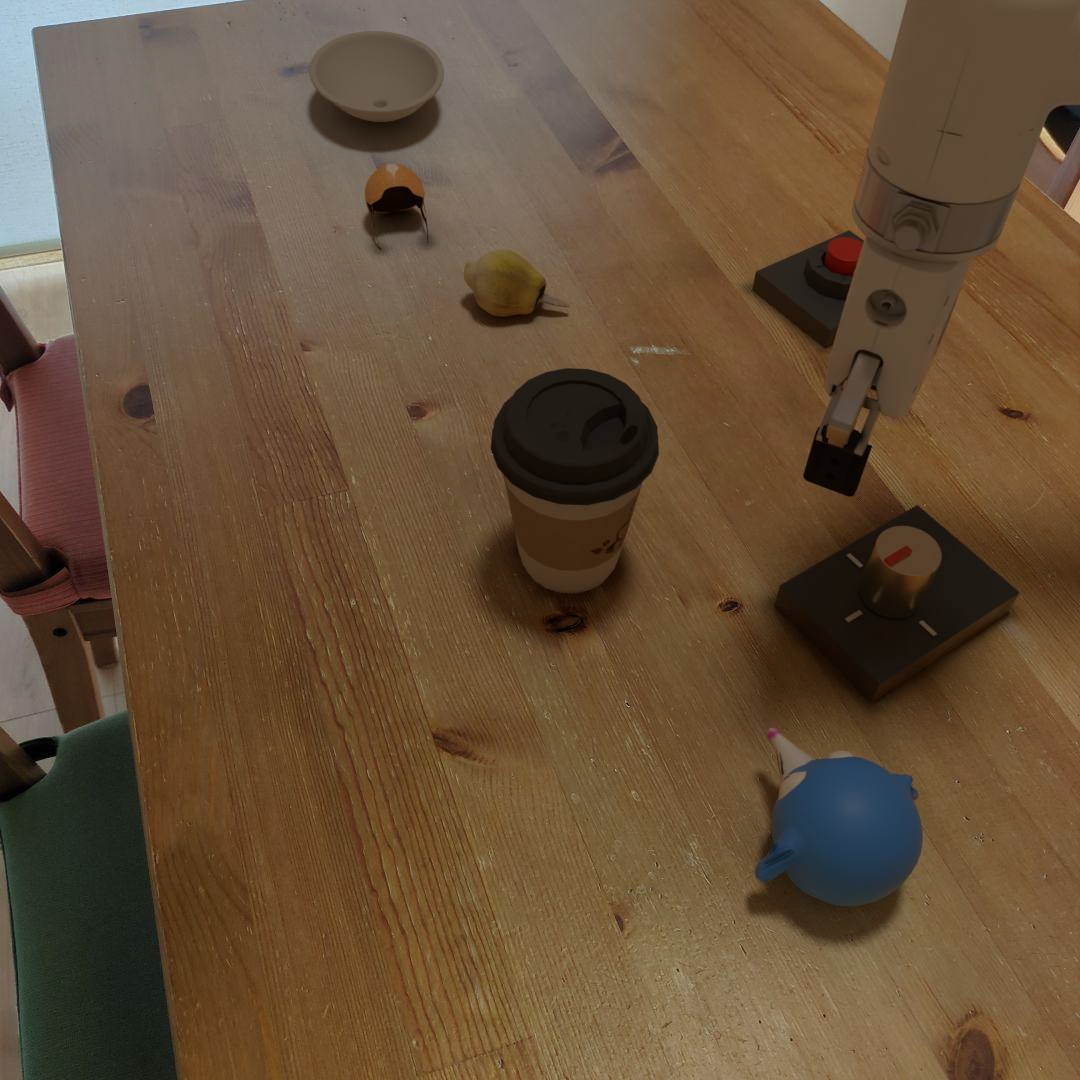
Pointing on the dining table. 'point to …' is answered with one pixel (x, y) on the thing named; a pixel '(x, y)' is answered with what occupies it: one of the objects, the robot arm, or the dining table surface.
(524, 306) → the fruit
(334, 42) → the dish
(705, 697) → the dining table surface
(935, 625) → the dial panel
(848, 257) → the button
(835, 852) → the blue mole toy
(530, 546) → the coffee cup
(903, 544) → the dial knob
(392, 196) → the helmet
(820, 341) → the button box
